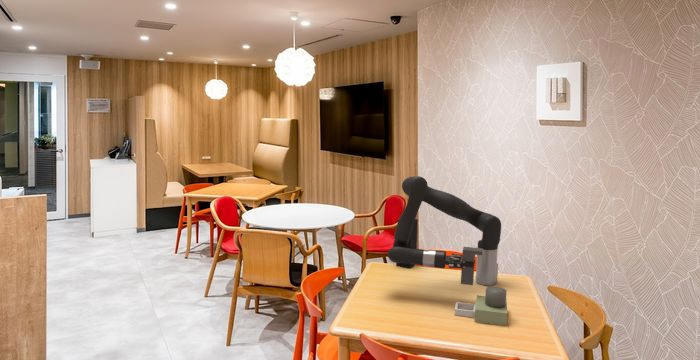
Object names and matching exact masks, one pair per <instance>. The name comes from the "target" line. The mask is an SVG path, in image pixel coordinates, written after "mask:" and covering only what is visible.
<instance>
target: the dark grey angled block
mask: <svg viewBox="0 0 700 360" xmlns="http://www.w3.org/2000/svg"><path fill="white" fill-rule="evenodd" d="M482 253H483V249H482V248H478V247H473V246H472V247H470V246H463V247H462V254H461V255H462V261H465V262H466V261H468V262H474V263H475V264H476V256H477V255H482ZM460 274H461V275H460V285H467V286H473V285H474V277H475V267H474V268H472V267H463V268H462V269H461V272H460Z"/></svg>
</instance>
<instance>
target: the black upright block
mask: <svg viewBox="0 0 700 360" xmlns="http://www.w3.org/2000/svg"><path fill="white" fill-rule="evenodd" d="M398 221H399V219H397V222H398ZM418 222H419V221H418V218H415V221H414V224H413V228H412V232H411V236H410V239H409V242H408V248H410V249H418V247H417V245H418V243H417V242H418ZM395 264H396V267H399V266H400V267H401V268H405V269H412V267H415V266H416V265H414V264H409V263H395Z"/></svg>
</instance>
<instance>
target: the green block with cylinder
mask: <svg viewBox="0 0 700 360" xmlns="http://www.w3.org/2000/svg"><path fill="white" fill-rule="evenodd" d="M453 315H454V316H458V317H467V318H474V322H475V323H482V324H483V323H484V324H491V325H498V326H507V324H508V321H507V320H508V299H507V290H506V289H505V288H503V287H500V286H487V287H486V288H485V295H478V294H477V295H476V299H475V303H468V302H459V301H456V302H455V304H454V314H453Z"/></svg>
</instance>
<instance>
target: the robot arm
mask: <svg viewBox="0 0 700 360" xmlns="http://www.w3.org/2000/svg"><path fill="white" fill-rule="evenodd" d="M401 188H402V191H403V193H404V194H405V195H406V196H408V199H407V202H406V205H405V207H404V209H403V211H402V213H401V215H400V216H399V218H398V220H399V221H398V220H397V224H396V227H395V231H394V234H393V235H394V236H393V239H394V241H393V245H392V247H390V249H389V250H388V252H387V257H388V259H389V260H390V262H392V263H395V264H396V263H409V264H414V265H415V266H420V267H428V268H434V269H435V268H436V269H445V268H446V266H448V268H449V269H461V270H462V268H463V267H472V268H474V269H475V266H476V271H475V283H476V284H478V285H481V286H493V285H496V284H497V283H498V274H499V273H498V272H499V271H498V270H499V263H498V250H499V248H498V247H499V244H500V242H501V234H502V222H501V220H500V218H499V217H498V216H495V215H494V214H491V213H487V212H485V211H481V210H479V209H476V208H474V207H472V205H470V204H469V203H467V202H466V201H465V200H463V199H461V198H460V197H458V196H455V195H454V194H451V193H448V192H446V191H443V190H440V189H435V188H433V187H431V186H429V185H428V181H427V179H426V178H425V177H422V176H419V175H418V176H408V177H407V178H404V180H402V183H401ZM423 202H424V203H426V204H428V205H429V206H431V207H433V208H435V209H437V210H438V211H440V212H442V213H444V214H445V215H448V216H450V217H452V218H453V219H456V220H461V221H464V222H466V223H468V224H470V225H471V226H473V227H474V228H476V229H478V231H480V232H482V236H481V239H479V240H478V241H477V248H482V249H483V253H482V255H476V262H475V263H474V262H468V261H466V262H465V261H462V254H458V253H451V255H447V251H446V250H440V249H439V250H437V249H424V248H417V249H410V248H408V242H409V239H410V236H411V232H412V228H413V224H414V221H415V219H417V216H418V213H419V210H420V207H421V205H422V203H423Z"/></svg>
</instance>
